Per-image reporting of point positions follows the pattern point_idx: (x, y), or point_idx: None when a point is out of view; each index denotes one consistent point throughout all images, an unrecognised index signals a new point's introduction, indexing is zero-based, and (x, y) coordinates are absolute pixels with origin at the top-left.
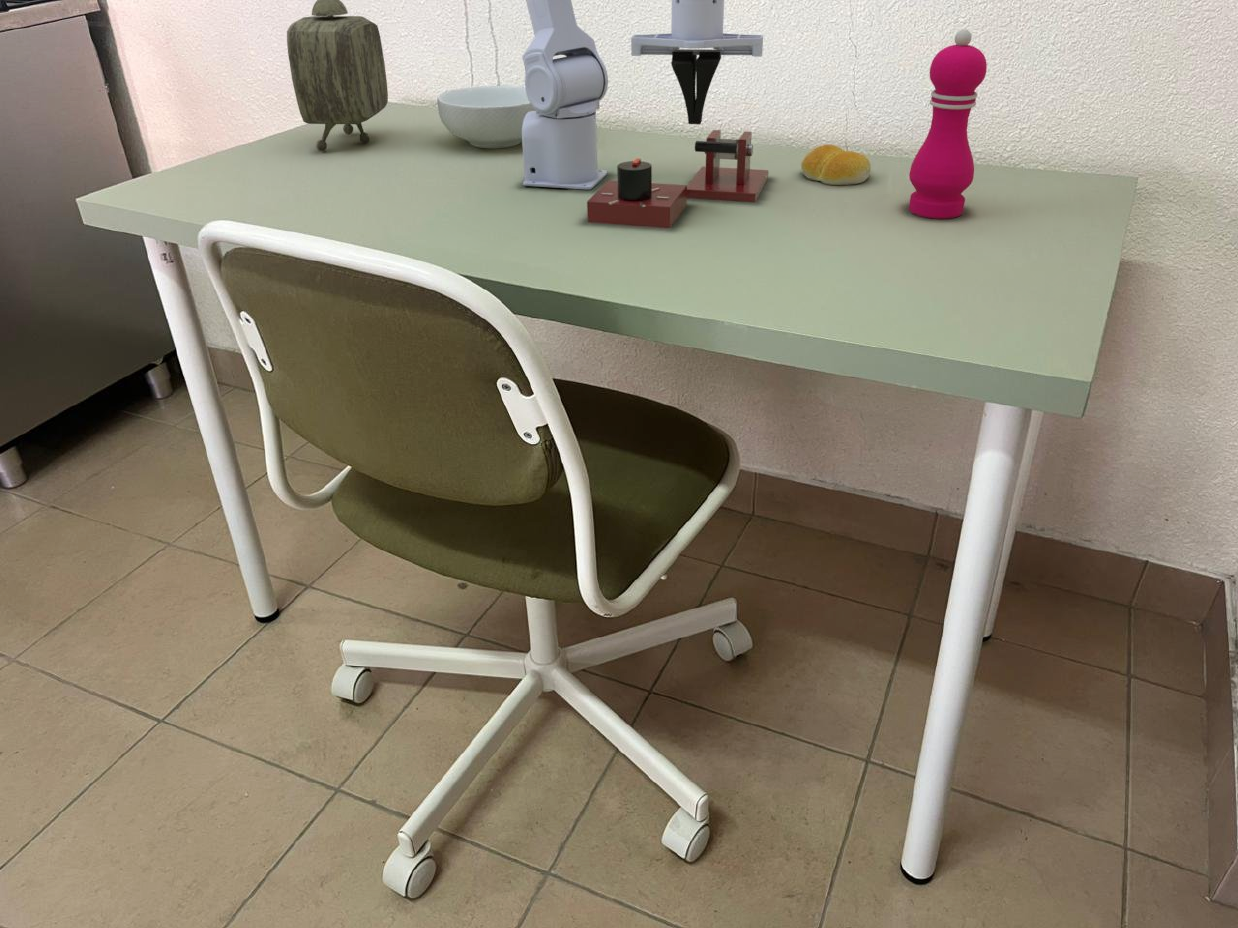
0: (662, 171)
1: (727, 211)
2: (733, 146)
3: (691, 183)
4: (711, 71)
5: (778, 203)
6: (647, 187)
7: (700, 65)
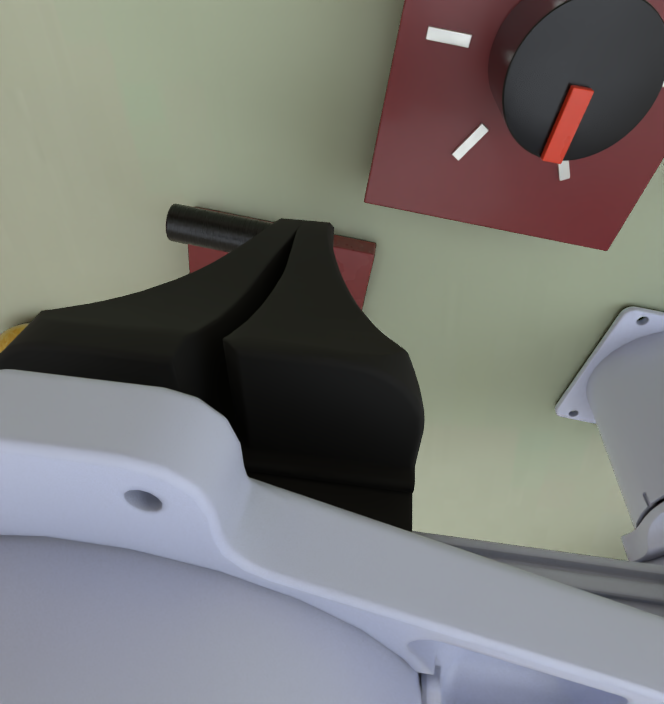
0: (424, 422)
1: (253, 136)
2: (179, 215)
3: (357, 299)
4: (85, 309)
5: (140, 208)
6: (516, 19)
7: (147, 333)
